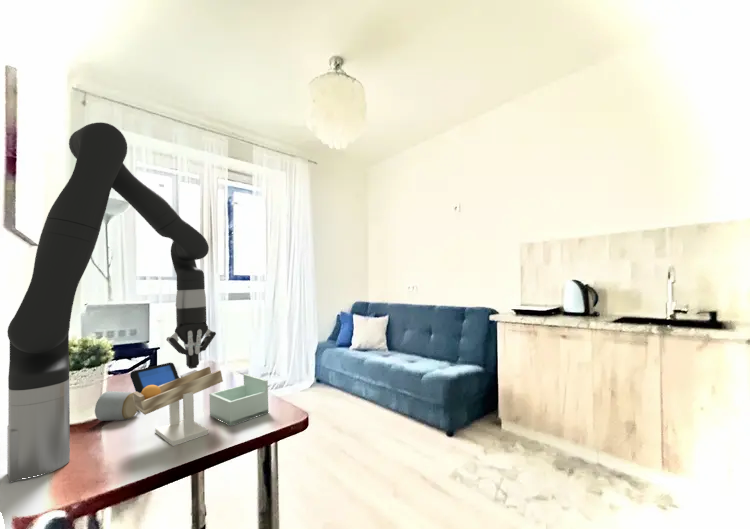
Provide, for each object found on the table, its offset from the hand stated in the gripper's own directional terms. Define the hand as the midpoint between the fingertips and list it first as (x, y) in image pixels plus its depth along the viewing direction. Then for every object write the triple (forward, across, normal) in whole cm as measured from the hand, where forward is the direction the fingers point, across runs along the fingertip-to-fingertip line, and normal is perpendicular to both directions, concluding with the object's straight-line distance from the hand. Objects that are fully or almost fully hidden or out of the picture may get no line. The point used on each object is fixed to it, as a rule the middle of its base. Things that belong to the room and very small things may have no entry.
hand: (192, 367), depth 99 cm
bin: (+13, +8, -9) cm, 18 cm away
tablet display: (+14, +2, +30) cm, 33 cm away
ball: (+2, -13, -10) cm, 16 cm away
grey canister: (+14, -13, +17) cm, 25 cm away
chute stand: (+13, -7, -9) cm, 18 cm away
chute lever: (+4, -6, -5) cm, 9 cm away
